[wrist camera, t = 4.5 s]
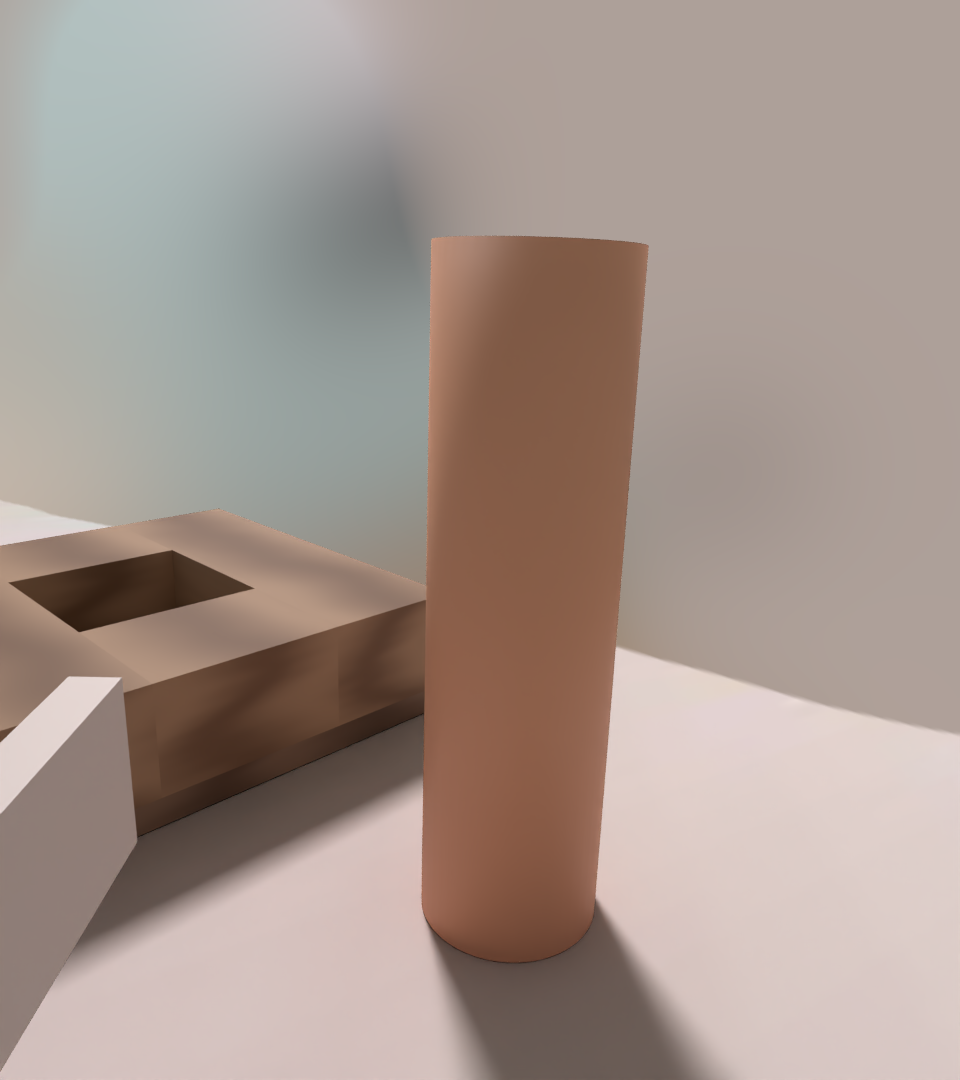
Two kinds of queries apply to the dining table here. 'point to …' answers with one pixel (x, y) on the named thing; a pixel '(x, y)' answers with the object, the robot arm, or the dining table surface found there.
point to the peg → (523, 579)
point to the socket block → (212, 648)
